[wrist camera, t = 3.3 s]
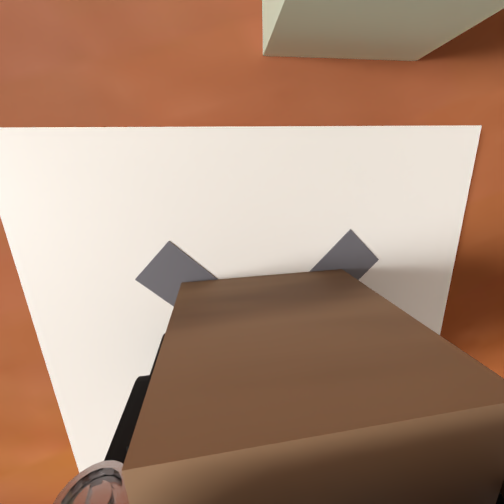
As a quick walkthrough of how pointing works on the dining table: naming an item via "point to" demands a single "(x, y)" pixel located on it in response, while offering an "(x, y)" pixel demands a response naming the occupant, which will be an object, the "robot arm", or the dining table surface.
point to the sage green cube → (367, 27)
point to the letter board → (213, 232)
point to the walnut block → (312, 402)
